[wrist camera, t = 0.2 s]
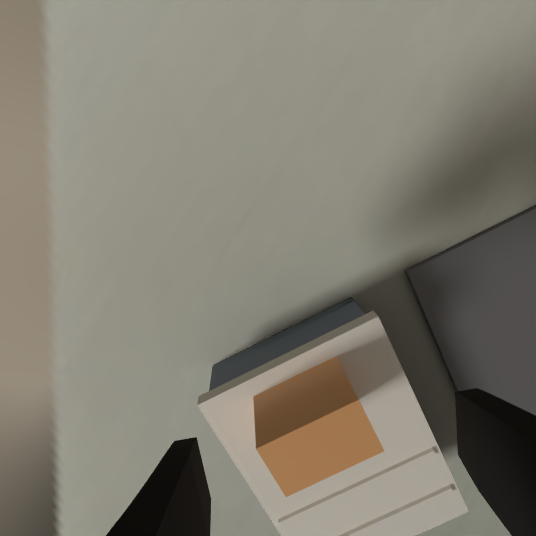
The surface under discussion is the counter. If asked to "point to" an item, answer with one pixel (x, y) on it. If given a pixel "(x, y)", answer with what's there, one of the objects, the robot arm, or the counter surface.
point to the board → (486, 309)
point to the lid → (336, 439)
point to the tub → (284, 342)
